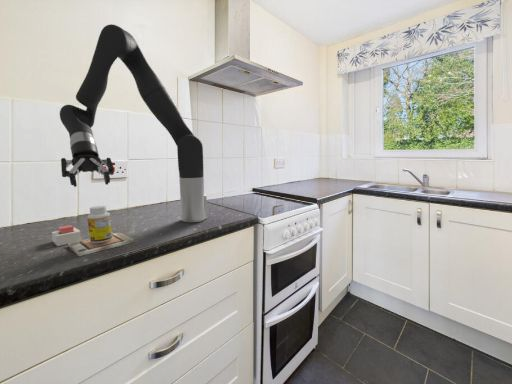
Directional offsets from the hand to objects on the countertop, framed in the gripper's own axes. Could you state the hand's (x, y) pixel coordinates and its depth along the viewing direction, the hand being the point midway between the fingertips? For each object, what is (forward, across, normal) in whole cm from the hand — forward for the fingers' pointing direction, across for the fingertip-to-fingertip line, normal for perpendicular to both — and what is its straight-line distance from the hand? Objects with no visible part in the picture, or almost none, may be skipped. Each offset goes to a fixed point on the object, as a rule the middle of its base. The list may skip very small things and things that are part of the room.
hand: (91, 184), depth 80 cm
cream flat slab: (+20, 0, +4) cm, 20 cm away
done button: (+11, -8, +10) cm, 17 cm away
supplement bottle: (+19, 0, +4) cm, 19 cm away
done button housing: (+12, -8, +11) cm, 19 cm away
